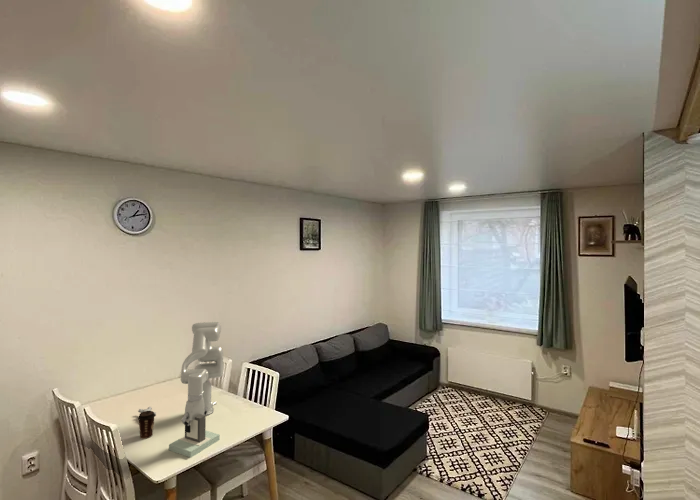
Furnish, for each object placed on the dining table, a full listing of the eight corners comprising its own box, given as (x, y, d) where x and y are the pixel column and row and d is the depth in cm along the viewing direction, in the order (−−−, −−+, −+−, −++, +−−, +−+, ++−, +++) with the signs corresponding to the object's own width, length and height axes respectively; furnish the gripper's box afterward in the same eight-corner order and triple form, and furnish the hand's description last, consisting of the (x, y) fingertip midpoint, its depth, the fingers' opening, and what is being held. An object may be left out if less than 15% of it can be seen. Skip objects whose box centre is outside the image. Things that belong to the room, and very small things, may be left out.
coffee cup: (151, 430, 222) (151, 408, 222) (157, 435, 217) (158, 412, 217) (135, 436, 215) (135, 413, 215) (141, 441, 210) (141, 417, 210)
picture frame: (190, 434, 211) (190, 411, 211) (205, 439, 206) (205, 415, 206) (184, 438, 207) (184, 414, 207) (199, 442, 203) (199, 418, 203)
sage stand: (198, 433, 219) (198, 427, 219) (219, 439, 213) (219, 433, 213) (168, 450, 201) (168, 443, 201) (190, 457, 194) (190, 451, 194)
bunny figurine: (140, 418, 229) (136, 406, 241) (140, 426, 230) (136, 414, 242) (157, 414, 235) (153, 403, 247) (157, 421, 236) (152, 410, 248)
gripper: (202, 390, 216) (202, 420, 216) (177, 401, 200) (176, 433, 201) (212, 392, 213) (212, 423, 213) (187, 404, 197) (187, 436, 197)
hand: (195, 428), depth 207 cm, fingers open, 9 cm apart
